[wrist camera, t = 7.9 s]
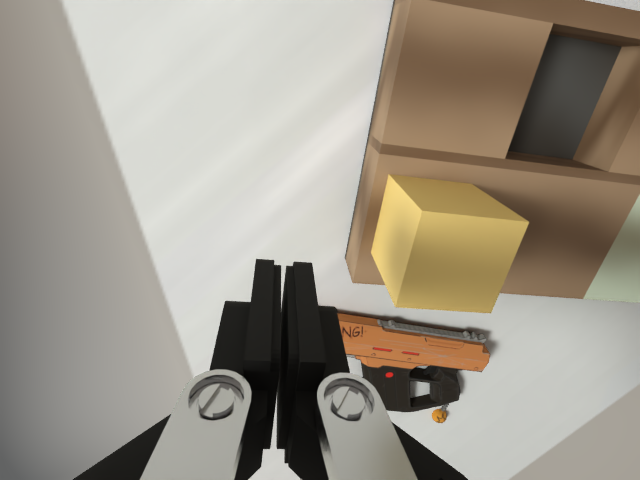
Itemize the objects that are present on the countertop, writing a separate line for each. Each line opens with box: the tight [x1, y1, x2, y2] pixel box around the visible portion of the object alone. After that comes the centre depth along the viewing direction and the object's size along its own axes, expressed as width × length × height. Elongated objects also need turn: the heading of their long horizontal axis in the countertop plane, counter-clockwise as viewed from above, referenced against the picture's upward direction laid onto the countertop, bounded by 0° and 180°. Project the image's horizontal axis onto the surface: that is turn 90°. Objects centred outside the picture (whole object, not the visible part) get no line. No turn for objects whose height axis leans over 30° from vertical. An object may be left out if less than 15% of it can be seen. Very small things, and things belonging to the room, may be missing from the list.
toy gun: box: [337, 313, 490, 423], centre depth 28 cm, size 15×2×10 cm
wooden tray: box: [345, 0, 640, 303], centre depth 20 cm, size 15×23×5 cm, turn 82°
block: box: [371, 174, 529, 313], centre depth 17 cm, size 4×4×5 cm
